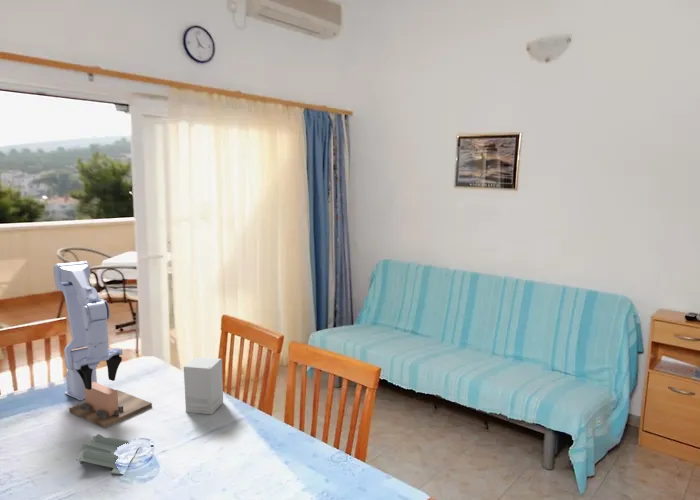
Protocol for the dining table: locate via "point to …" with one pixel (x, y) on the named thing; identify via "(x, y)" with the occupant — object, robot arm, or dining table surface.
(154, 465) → the dining table surface
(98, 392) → the door panel
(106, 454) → the grey-green ridged piece
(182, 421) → the dining table surface
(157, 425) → the dining table surface
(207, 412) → the supplement box
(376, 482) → the dining table surface
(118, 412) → the cabinet side board
